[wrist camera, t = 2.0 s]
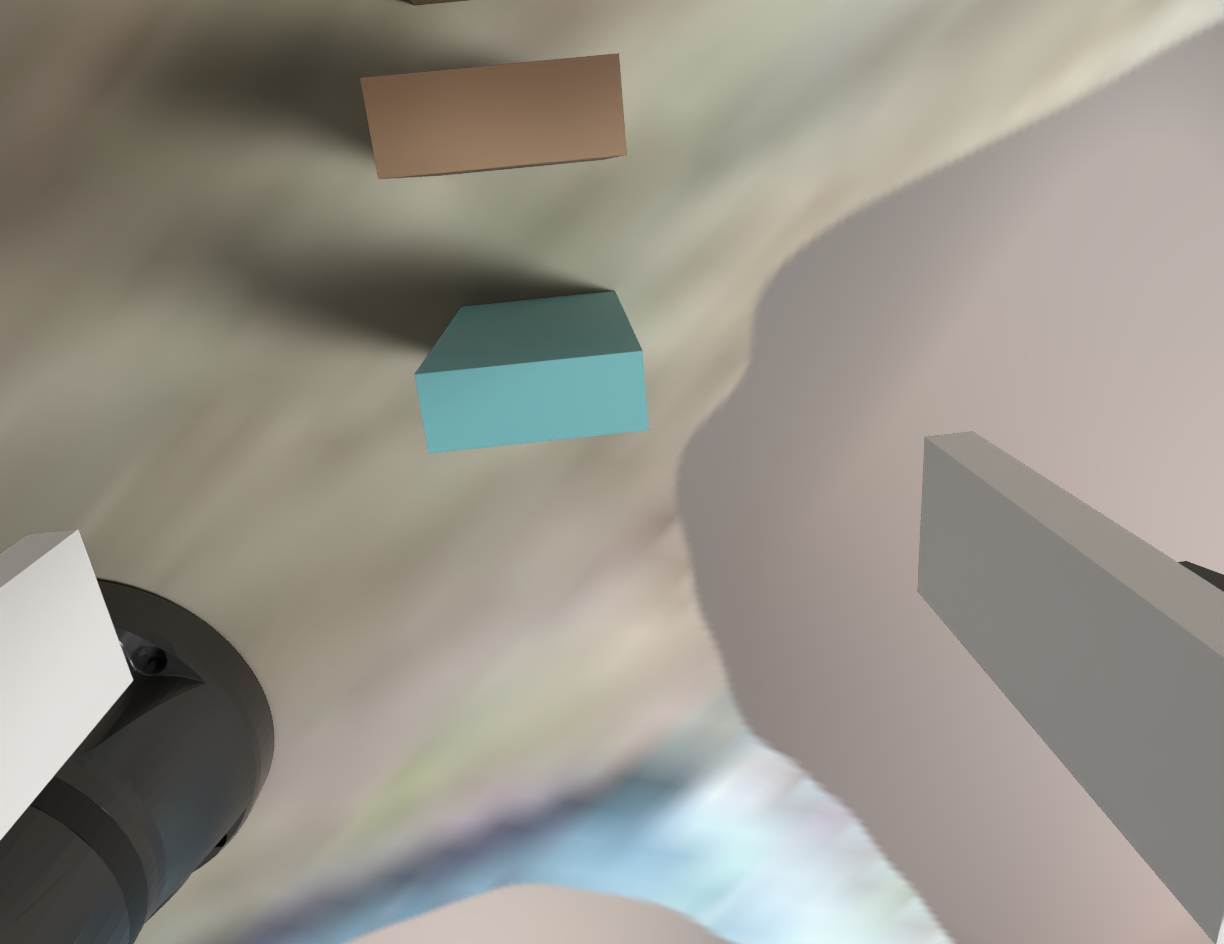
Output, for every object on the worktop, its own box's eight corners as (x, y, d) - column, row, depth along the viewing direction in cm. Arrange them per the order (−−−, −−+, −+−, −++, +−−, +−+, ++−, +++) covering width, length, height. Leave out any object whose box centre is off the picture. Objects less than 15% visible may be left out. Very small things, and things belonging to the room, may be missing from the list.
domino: (603, 159, 30) (626, 154, 20) (440, 175, 30) (378, 178, 19) (597, 94, 29) (618, 53, 19) (430, 110, 29) (359, 77, 19)
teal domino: (619, 346, 32) (648, 429, 22) (470, 361, 32) (428, 453, 22) (614, 290, 32) (642, 350, 21) (461, 306, 31) (414, 374, 21)
